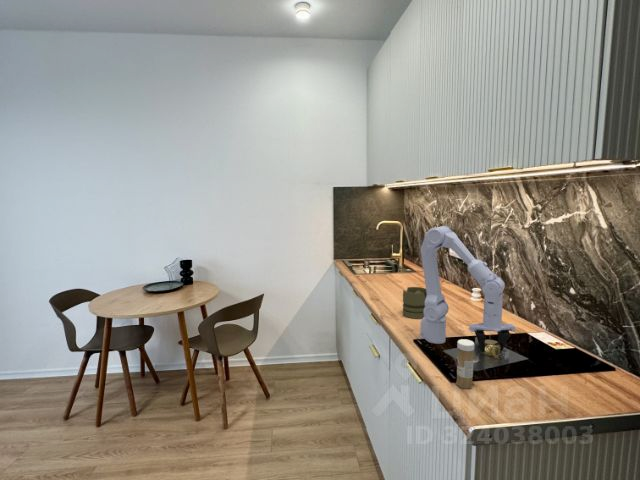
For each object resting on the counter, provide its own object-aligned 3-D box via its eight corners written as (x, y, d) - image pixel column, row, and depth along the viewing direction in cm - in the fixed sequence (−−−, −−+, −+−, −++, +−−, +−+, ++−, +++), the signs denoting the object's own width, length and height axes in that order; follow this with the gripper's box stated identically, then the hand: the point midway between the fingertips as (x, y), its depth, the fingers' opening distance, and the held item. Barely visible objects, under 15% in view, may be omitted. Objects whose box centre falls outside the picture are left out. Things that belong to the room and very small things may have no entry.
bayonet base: (442, 353, 129) (442, 341, 129) (490, 343, 137) (491, 332, 136) (475, 373, 114) (476, 360, 114) (528, 361, 122) (528, 349, 121)
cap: (477, 347, 131) (478, 337, 130) (493, 347, 131) (493, 337, 130) (488, 358, 122) (488, 348, 121) (505, 358, 122) (505, 348, 121)
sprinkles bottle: (453, 381, 110) (454, 339, 108) (468, 380, 110) (469, 338, 108) (460, 389, 105) (462, 345, 104) (475, 388, 106) (477, 344, 104)
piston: (399, 291, 166) (408, 285, 176) (399, 316, 168) (407, 309, 177) (423, 294, 160) (431, 288, 170) (423, 321, 162) (431, 313, 171)
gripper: (475, 317, 121) (473, 356, 123) (520, 316, 120) (518, 356, 122) (467, 310, 128) (466, 347, 130) (510, 310, 127) (508, 347, 129)
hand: (491, 350), depth 126 cm, fingers closed on cap, 5 cm apart
